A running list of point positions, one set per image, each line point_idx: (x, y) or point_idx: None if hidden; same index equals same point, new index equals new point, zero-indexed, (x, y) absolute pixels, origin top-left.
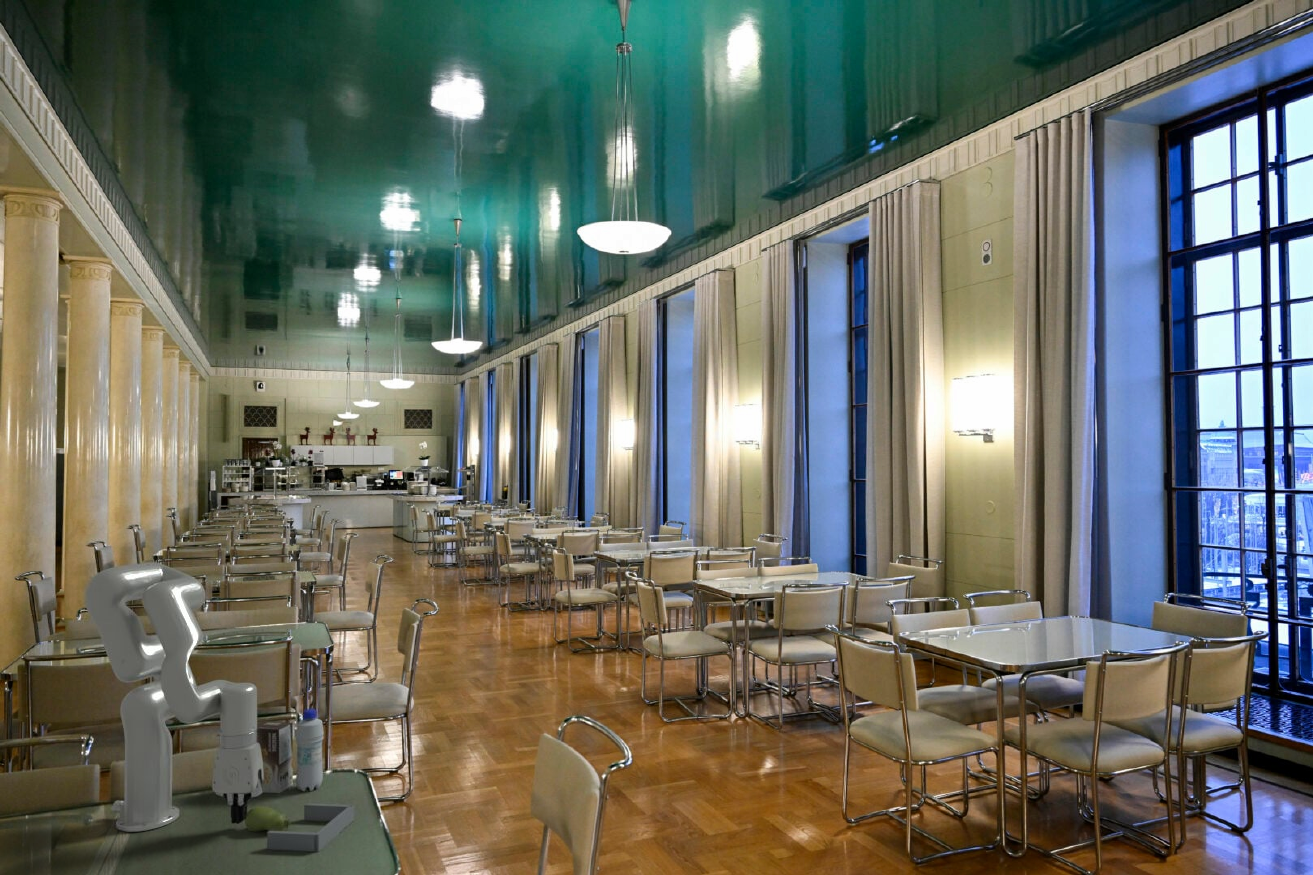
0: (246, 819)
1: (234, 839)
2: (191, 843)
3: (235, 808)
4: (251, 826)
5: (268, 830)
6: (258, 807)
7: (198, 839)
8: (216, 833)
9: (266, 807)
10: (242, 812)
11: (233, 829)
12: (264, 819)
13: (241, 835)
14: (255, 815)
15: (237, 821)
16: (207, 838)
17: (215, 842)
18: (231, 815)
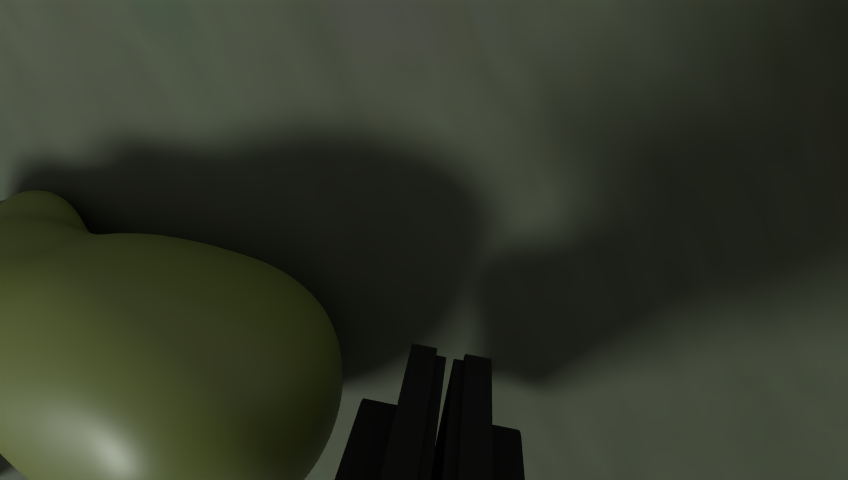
0: (275, 321)
1: (380, 131)
2: (839, 61)
3: (430, 472)
4: (225, 253)
5: (72, 220)
6: (116, 463)
7: (784, 165)
8: (632, 293)
9: (55, 477)
10: (356, 440)
11: (495, 361)
12: (31, 273)
13: (354, 221)
14: (121, 319)
15: (415, 352)
16: (687, 182)
17: (557, 68)
18: (491, 409)
